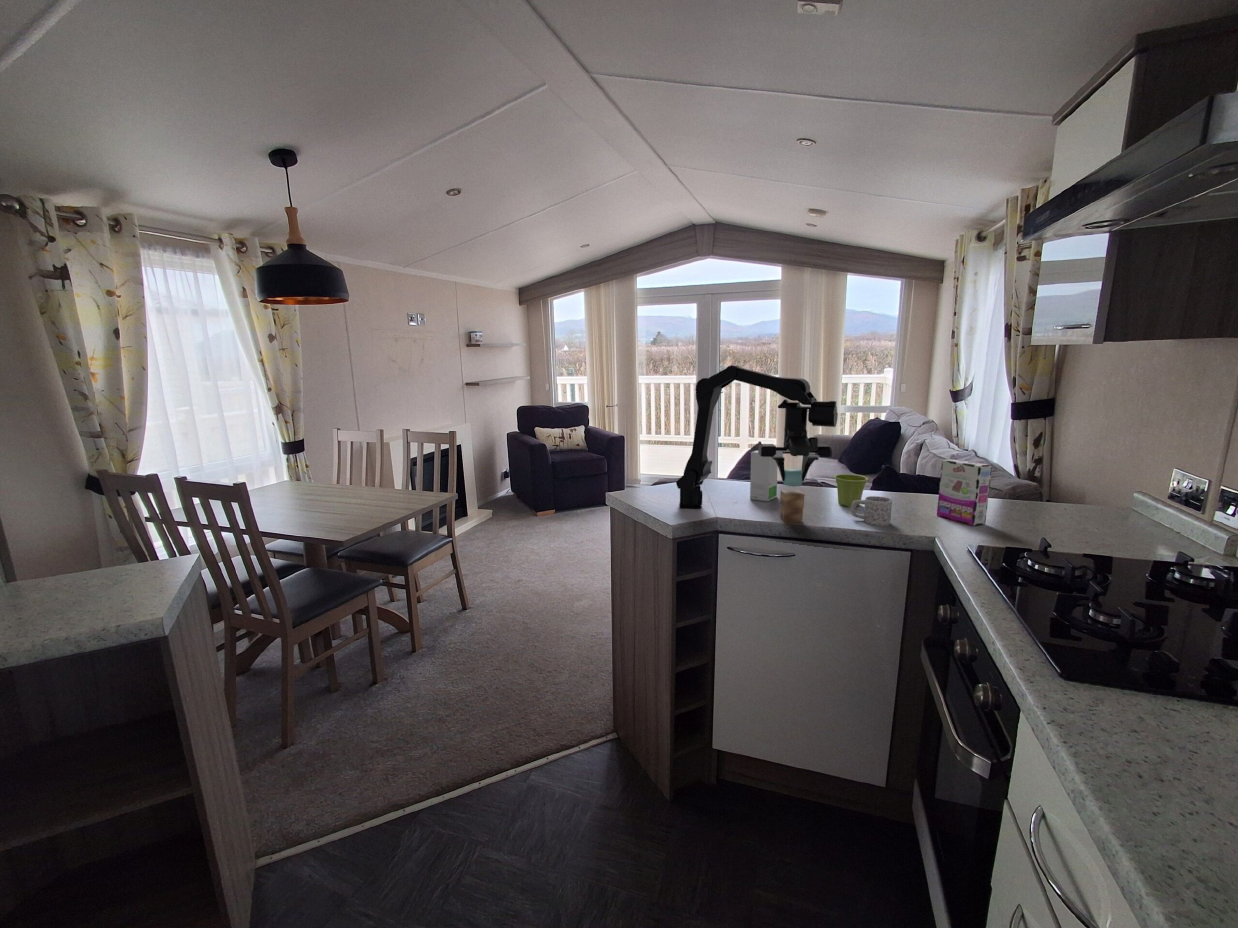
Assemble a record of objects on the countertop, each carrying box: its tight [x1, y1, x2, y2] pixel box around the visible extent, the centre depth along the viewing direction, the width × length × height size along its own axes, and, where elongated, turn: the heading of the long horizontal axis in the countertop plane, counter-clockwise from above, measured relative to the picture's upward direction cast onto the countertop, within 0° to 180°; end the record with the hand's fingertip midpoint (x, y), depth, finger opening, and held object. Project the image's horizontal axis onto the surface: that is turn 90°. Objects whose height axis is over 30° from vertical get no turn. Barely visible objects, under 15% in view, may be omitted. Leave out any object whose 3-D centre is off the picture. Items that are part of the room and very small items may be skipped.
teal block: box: [783, 468, 803, 487], centre depth 147 cm, size 5×5×4 cm
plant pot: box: [834, 473, 869, 508], centre depth 163 cm, size 9×9×9 cm
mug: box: [850, 495, 893, 527], centre depth 146 cm, size 10×7×7 cm
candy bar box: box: [936, 458, 993, 527], centre depth 145 cm, size 11×5×16 cm, turn 21°
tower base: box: [780, 504, 804, 523], centre depth 149 cm, size 5×5×4 cm
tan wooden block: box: [779, 489, 805, 509], centre depth 149 cm, size 5×5×4 cm
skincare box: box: [749, 450, 779, 502], centre depth 172 cm, size 8×7×16 cm
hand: (792, 480), depth 148 cm, fingers closed on teal block, 5 cm apart
